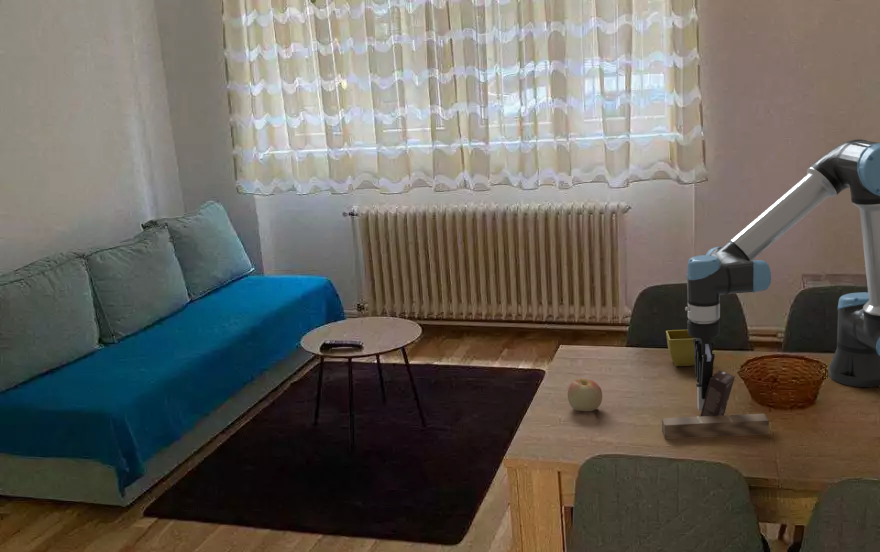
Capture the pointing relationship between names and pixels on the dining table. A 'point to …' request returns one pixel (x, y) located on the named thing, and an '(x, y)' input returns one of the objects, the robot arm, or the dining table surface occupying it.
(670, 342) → the flower pot
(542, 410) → the dining table surface
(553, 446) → the dining table surface
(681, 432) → the grey long bar
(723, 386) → the box
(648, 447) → the dining table surface
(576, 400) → the apple
